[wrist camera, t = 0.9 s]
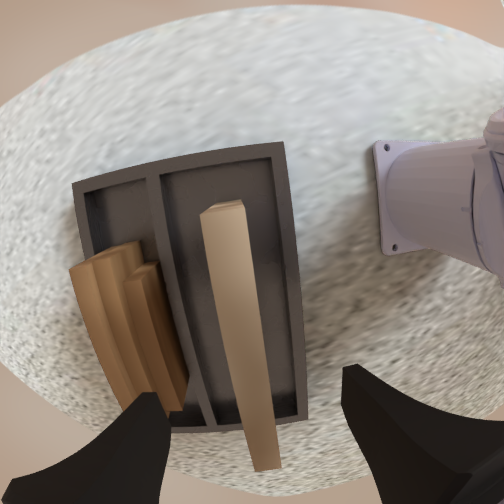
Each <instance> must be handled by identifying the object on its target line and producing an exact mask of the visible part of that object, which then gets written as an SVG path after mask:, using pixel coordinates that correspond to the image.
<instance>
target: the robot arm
mask: <svg viewBox="0 0 504 504" xmlns="http://www.w3.org/2000/svg"><path fill="white" fill-rule="evenodd" d="M483 136H484V137H481V138H473V139H465V140H457V141H450V142H444V143H439V142H421V141H376V142H375V143H374V144H373V155H374V162H375V170H376V179H377V189H378V200H379V213H380V230H381V250H382V253H383V254H385V255H387V256H390V255H395V254H401V253H406V252H411V251H417V250H422V249H427V248H430V249H432V250H435V251H438V252H440V253H443V254H446V255H448V256H451V257H453V258H456V259H458V260H461V261H464V262H466V263H469V264H471V265H474V266H476V267H478V268H481V269H483V270H486V271H488V272H490V273H493V274H495V275H496V276H497V277H498V278H499V280H500V283H501V288H503V289H504V107H503V108H501V109H499V110H498V111H496V112H494V113H493V114H492V115H491V116H490V117H489V120H488V123H487V126H486V127H485V129H484V131H483ZM384 145H386V146H387V148H388V150H387V151H386V150H385V149H384ZM394 244H395V249H394V250H392V246H393V245H394ZM341 406H342V409H343V412H344V415H345V418H346V420H347V423H348V426H349V428H350V430H351V432H352V434H353V436H354V437H355V439H356V441H357V443H358V445H359V447H360V449H361V451H362V453H363V455H364V457H365V459H366V461H367V463H368V465H369V467H370V469H371V471H372V474H373V477H374V480H375V483H376V485H377V488H378V491H379V495H380V498H381V501H382V504H504V421H492V420H482V419H474V418H469V417H464V416H459V415H456V414H452V413H448V412H445V411H442V410H439V409H436V408H434V407H431V406H429V405H426V404H424V403H421V402H419V401H417V400H415V399H413V398H411V397H409V396H407V395H405V394H403V393H402V392H400V391H398V390H397V389H395V388H393V387H392V386H390V385H388V384H387V383H385V382H384V381H382V380H381V379H379V378H378V377H376V376H375V375H373V374H372V373H370V372H369V371H367V370H366V369H365V368H363V367H362V366H360V365H359V364H354V365H350V366H346V367H343V374H342V395H341ZM170 440H171V424H170V422H169V420H168V418H167V415H166V413H165V411H164V409H163V406H162V404H161V402H160V399H159V397H158V395H157V392H142V393H141V394H140V395H139V396H138V397H137V398H136V399H135V400H134V401H133V402H132V403H131V404H130V405H129V406H128V407H127V408H126V409H125V411H124V412H123V413H122V414H121V415H120V416H119V417H118V418H117V419H116V420H115V421H114V422H113V423H112V424H111V425H109V426H108V427H107V428H106V429H105V430H104V431H103V432H102V433H101V434H100V435H98V436H97V437H96V438H95V439H94V440H93V441H91V442H90V443H89V444H87V445H86V446H85V447H83V448H82V449H81V450H79V451H78V452H76V453H74V454H73V455H71V456H69V457H68V458H66V459H64V460H62V461H61V462H59V463H57V464H55V465H53V466H51V467H48V468H46V469H44V470H41V471H39V472H36V473H33V474H30V475H26V476H22V477H18V478H14V479H12V480H11V482H10V484H9V486H8V487H7V489H6V492H5V493H4V495H3V497H2V499H1V500H2V502H3V504H159V496H160V490H161V485H162V480H163V476H164V472H165V467H166V463H167V458H168V454H169V449H170Z"/></svg>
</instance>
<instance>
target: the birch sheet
mask: <svg viewBox="0 0 504 504" xmlns="http://www.w3.org/2000/svg"><path fill="white" fill-rule="evenodd" d="M200 220H201V227H202V233H203V239H204V244H205V250H206V256H207V262H208V267H209V273H210V278H211V284H212V289H213V294H214V299H215V304H216V309H217V314H218V319H219V324H220V329H221V334H222V339H223V343H224V348H225V353H226V357H227V362H228V366H229V371H230V375H231V379H232V384H233V388H234V392H235V396H236V400H237V405H238V409H239V413H240V417H241V421H242V425H243V428H244V432H245V436H246V440H247V444H248V448H249V451H250V455H251V459H252V462H253V466H254V469H255V472H257V471H265V470H273V469H279V468H282V467H281V460H280V453H279V446H278V439H277V432H276V425H275V418H274V411H273V404H272V397H271V389H270V382H269V375H268V368H267V361H266V354H265V347H264V340H263V333H262V326H261V319H260V312H259V305H258V298H257V291H256V283H255V276H254V269H253V262H252V255H251V248H250V241H249V234H248V227H247V220H246V212H245V207H244V205H243V203H242V201H241V200H234V201H227V202H220V203H216V204H214V205H213V206H211V207H210V208H209V209H207V210H206V211H204V212H203V213H202V214H200Z"/></svg>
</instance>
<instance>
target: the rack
mask: <svg viewBox="0 0 504 504" xmlns="http://www.w3.org/2000/svg"><path fill="white" fill-rule="evenodd" d="M72 189H73V197H74V204H75V210H76V216H77V222H78V227H79V233H80V238H81V243H82V247H83V252H84V256H85V260H87V259H89V258H91V257H93V256H95V255H97V254H98V253H100V252H102V251H104V250H106V249H108V248H110V247H114V246H119V245H122V244H124V243H128V242H133V241H139V240H140V244H141V248H142V253H143V258H144V263H148V262H154V261H160V263H161V267H162V272H163V276H164V281H165V285H166V290H167V294H168V298H169V302H170V306H171V310H172V314H173V318H174V322H175V326H176V329H177V333H178V337H179V340H180V344H181V347H182V351H183V354H184V358H185V361H186V364H187V368H188V371H189V374H190V378H189V383H188V387H187V392H186V397H185V401H184V406H183V411H170V414H169V418H168V420H169V422H170V424H171V433H205V432H221V431H233V430H244V428H243V425H242V421H241V417H240V413H239V409H238V405H237V400H236V396H235V392H234V388H233V384H232V379H231V375H230V371H229V366H228V362H227V357H226V353H225V348H224V343H223V339H222V334H221V329H220V324H219V319H218V314H217V309H216V304H215V299H214V294H213V289H212V284H211V278H210V273H209V267H208V262H207V256H206V250H205V244H204V239H203V233H202V227H201V220H200V214H202V213H203V212H204V211H206V210H207V209H209V208H210V207H211V206H213V205H214V204H216V203H220V202H227V201H234V200H241V201H242V203H243V205H244V207H245V212H246V220H247V227H248V234H249V241H250V248H251V255H252V262H253V269H254V276H255V283H256V291H257V298H258V305H259V312H260V319H261V326H262V333H263V340H264V347H265V354H266V361H267V368H268V375H269V382H270V389H271V397H272V404H273V411H274V418H275V425H281V424H287V423H292V422H298V421H303V420H308V397H307V374H306V356H305V339H304V325H303V311H302V299H301V287H300V276H299V265H298V255H297V245H296V236H295V227H294V218H293V209H292V201H291V193H290V185H289V178H288V170H287V163H286V156H285V149H284V142H283V141H282V142H272V143H263V144H254V145H246V146H239V147H231V148H224V149H218V150H212V151H206V152H200V153H194V154H188V155H183V156H178V157H173V158H168V159H163V160H158V161H154V162H149V163H145V164H141V165H136V166H132V167H128V168H124V169H120V170H116V171H113V172H109V173H105V174H102V175H98V176H95V177H91V178H88V179H84V180H81V181H78V182H75V183H72Z"/></svg>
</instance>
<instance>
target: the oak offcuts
mask: <svg viewBox="0 0 504 504" xmlns="http://www.w3.org/2000/svg"><path fill="white" fill-rule="evenodd" d="M69 273H70V276H71V280H72V284H73V287H74V291H75V294H76V297H77V301H78V304H79V307H80V310H81V313H82V316H83V319H84V322H85V325H86V328H87V331H88V333H89V336H90V339H91V341H92V344H93V347H94V349H95V352H96V354H97V356H98V359H99V361H100V364H101V366H102V368H103V371H104V373H105V375H106V377H107V380H108V382H109V384H110V386H111V388H112V390H113V392H114V394H115V396H116V398H117V400H118V402H119V404H120V406H121V408H122V410H123V412H124V411H125V409H126V408H127V407H128V406H129V405H130V404H131V403H132V402H133V401H134V400H135V399H136V398H137V397H138V396H139V395H140V394H141V393H142V392H157V395H158V397H159V399H160V402H161V404H162V406H163V409H164V411H165V413H166V415H167V418H169V414H170V411H183V406H184V401H185V397H186V392H187V387H188V383H189V378H190V374H189V371H188V368H187V364H186V361H185V358H184V354H183V351H182V347H181V344H180V340H179V337H178V333H177V329H176V326H175V322H174V318H173V314H172V310H171V306H170V302H169V298H168V294H167V290H166V285H165V281H164V276H163V272H162V267H161V263H160V261H154V262H148V263H144V258H143V253H142V248H141V244H140V240H139V241H133V242H128V243H124V244H122V245H119V246H114V247H110V248H108V249H106V250H104V251H102V252H100V253H98V254H97V255H95V256H93V257H91V258H89V259H87V260H85V261H83V262H82V263H80V264H78V265H76V266H74V267H72V268H71V269H69Z"/></svg>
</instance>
